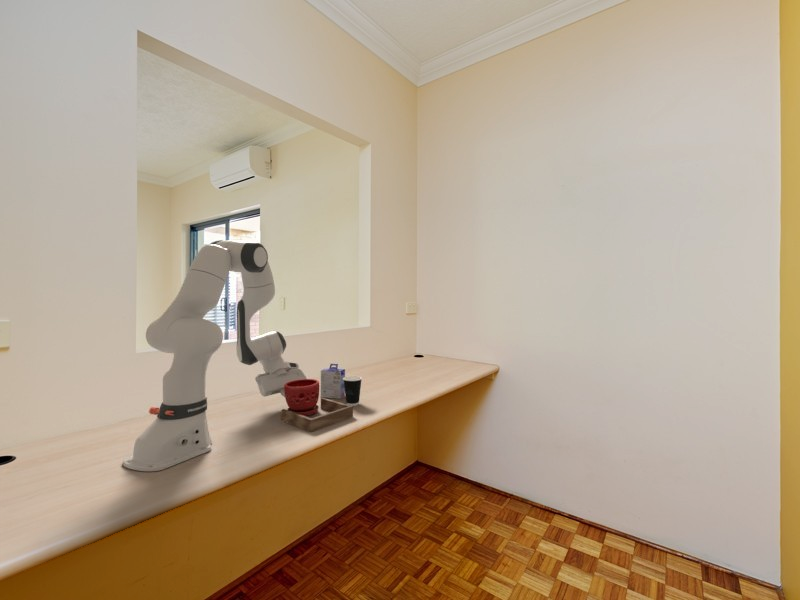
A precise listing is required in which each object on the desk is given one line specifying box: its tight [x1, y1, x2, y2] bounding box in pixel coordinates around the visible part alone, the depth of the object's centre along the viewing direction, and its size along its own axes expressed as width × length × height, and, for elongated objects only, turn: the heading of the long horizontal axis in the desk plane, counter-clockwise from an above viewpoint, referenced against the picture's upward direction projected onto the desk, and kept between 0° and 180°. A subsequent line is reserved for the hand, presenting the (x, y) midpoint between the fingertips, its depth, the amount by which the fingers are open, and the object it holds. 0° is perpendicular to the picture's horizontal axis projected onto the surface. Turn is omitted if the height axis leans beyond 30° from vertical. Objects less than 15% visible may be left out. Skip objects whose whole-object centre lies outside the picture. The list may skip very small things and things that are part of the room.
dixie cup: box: [343, 375, 363, 407], centre depth 154 cm, size 8×8×11 cm
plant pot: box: [284, 378, 320, 417], centre depth 142 cm, size 13×13×12 cm
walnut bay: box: [280, 397, 354, 433], centre depth 136 cm, size 17×19×4 cm
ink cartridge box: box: [319, 363, 346, 400], centre depth 164 cm, size 10×6×14 cm, turn 78°
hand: (291, 399), depth 146 cm, fingers closed
